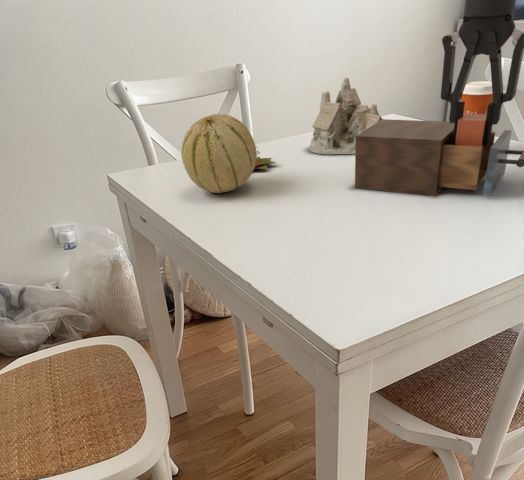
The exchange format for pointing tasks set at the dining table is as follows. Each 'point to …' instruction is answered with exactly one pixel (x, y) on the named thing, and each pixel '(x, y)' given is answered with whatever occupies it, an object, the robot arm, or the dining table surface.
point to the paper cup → (477, 97)
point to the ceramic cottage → (341, 122)
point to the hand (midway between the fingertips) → (470, 142)
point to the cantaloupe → (218, 153)
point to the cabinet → (401, 156)
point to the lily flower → (262, 162)
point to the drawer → (476, 163)
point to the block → (470, 130)
